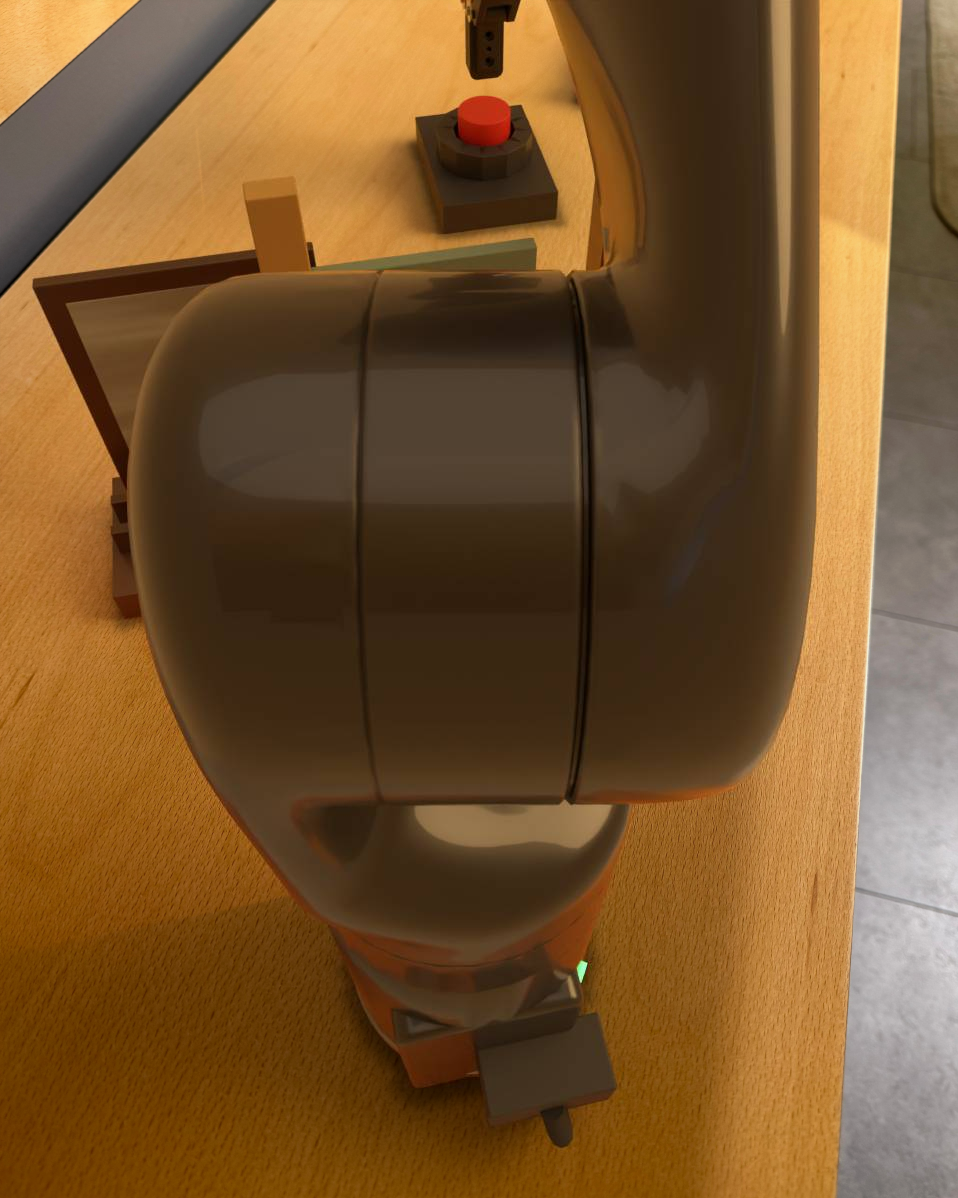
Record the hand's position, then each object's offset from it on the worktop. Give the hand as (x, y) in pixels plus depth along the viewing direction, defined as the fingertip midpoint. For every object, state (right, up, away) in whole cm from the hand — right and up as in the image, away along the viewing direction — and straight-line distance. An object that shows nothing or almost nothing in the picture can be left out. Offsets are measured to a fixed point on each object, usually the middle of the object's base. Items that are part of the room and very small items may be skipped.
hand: (484, 72), depth 65 cm
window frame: (-7, -30, -11) cm, 33 cm away
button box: (0, -4, +7) cm, 8 cm away
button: (0, -2, +4) cm, 4 cm away
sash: (-4, -28, -12) cm, 31 cm away
